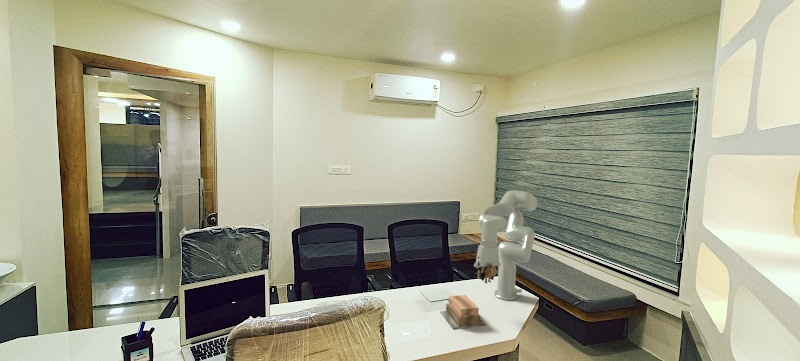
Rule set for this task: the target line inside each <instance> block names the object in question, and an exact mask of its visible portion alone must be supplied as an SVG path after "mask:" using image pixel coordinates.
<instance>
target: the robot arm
mask: <svg viewBox="0 0 800 361" xmlns="http://www.w3.org/2000/svg"><path fill="white" fill-rule="evenodd" d="M537 207H538V201H537V198H536V196H534V195H533V194H532V193H530V192H528V191H523V190H522V191H521V190H508V191H507V192H505V193H504V195H503V197H502V198H501V199H500V200H499V202H498V203H496V204H493V205H490V206H488V207H486V208H484V210H483V212H481V214H480V216H479V217H478V227H480V228H481V232H480V233H481V234H480V244H479V245H478V248H477V251H476V259H475V262H474V263H473V267H475V268H476V269H477V271H478V270H479V271H480V274H479V277H480V279H479V280H481V281H484V282H485V275H484V268H486V267H489V266H495V267H496V269H497V270H498V273H497V285H496V286H497V289H496V290H495V291H494V293H493V294H494V296H495V297H496V298H497V299H500V300H504V301H515V300H517V299H518V295H517V294H519V293H520V294H521V293H523V290H522V288H517V287H516V276H517V266H516V263H515V261H517V262H520V263H521V262H522V263H527V262H528V261H530V259H531V255H532V251H533V250H532V249H533V246H534V242H535V231H534V229H533V228H532V227H529V226H525V225H524V221H525V217H524V215H523V214H522V212H521V211H528V212H533V211H535V210H536V209H537ZM507 216H508V220H507V218H505V217H507ZM523 225H524V226H523ZM502 232H504V238H505V239H506V240H508V241H501V242H499V240H497V239H498V233H502ZM479 266H480V267H479ZM494 278H495V276H493V277H492V278H490V280H492V281H493V280H494Z"/></svg>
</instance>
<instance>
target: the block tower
mask: <svg viewBox="0 0 800 361" xmlns="http://www.w3.org/2000/svg"><path fill="white" fill-rule="evenodd" d="M439 313H440V314H441V316H442V317H443V319H444V320H445V321H446V323H448V324H449V327H450V328H452V330H456V329H467V328H476V327H484V326H485V327H487V323H486V322H485V321H483V319H482V318H481V315H480V314H479V306H478V305H476V304H475V302H473V300H471V298H469V297H468V296H467V295H466V294H461V295H454V296H449V299H448V303H446V304H445V310H441V311H440V312H439Z"/></svg>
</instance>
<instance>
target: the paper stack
mask: <svg viewBox="0 0 800 361" xmlns="http://www.w3.org/2000/svg"><path fill="white" fill-rule="evenodd" d="M419 292H420V293H421V294H422V295H423V296H424V297H425V298H426V299H427V300H428V301H429V302H436V301H443V300H449V296H455V294H453V293H452V292H450V291H449V290H448V289H447V288H446V287H441V288H433V289H428V290H427V289H426V290H420V291H419Z"/></svg>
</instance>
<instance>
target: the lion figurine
mask: <svg viewBox="0 0 800 361" xmlns="http://www.w3.org/2000/svg"><path fill="white" fill-rule="evenodd" d="M478 266H479V267H480V265H478ZM498 270H499V269H498V268H497V269H496V267H495V266H489V267H485V268H484V283H485V284H488V283H492V281H491V279H490V278H492V277H493V276H494V277H495V276H496V275H498ZM479 274H480V271H479V270H478V269H477V272H475V273H474V275H477V279H479V280H481V279H480V277H479Z"/></svg>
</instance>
